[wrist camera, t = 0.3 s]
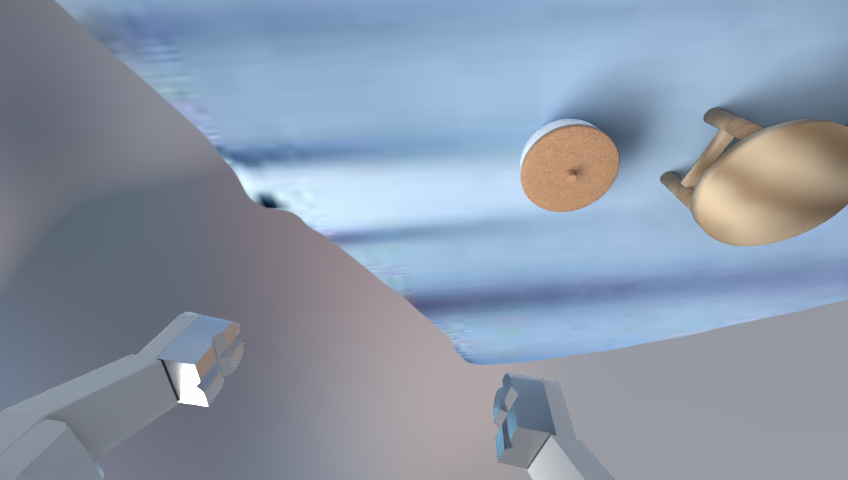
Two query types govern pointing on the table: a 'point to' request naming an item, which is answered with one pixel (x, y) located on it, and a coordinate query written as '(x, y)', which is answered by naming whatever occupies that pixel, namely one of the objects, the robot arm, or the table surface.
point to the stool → (765, 179)
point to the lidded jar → (568, 165)
